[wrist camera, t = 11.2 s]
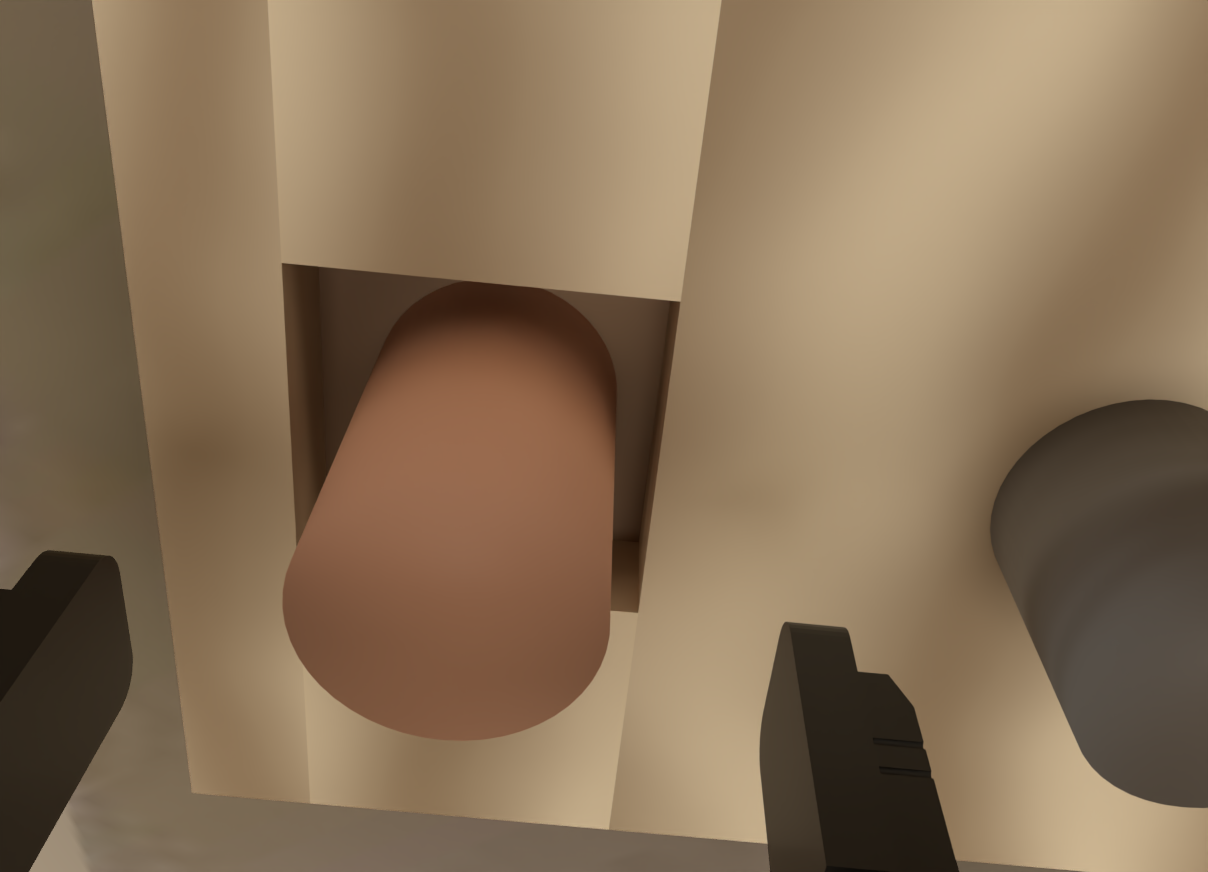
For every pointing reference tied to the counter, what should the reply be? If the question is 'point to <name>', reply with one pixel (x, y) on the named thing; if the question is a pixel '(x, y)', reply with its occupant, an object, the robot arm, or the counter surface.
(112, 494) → the counter surface
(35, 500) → the counter surface
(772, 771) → the robot arm
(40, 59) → the counter surface
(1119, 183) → the pin board
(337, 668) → the terracotta pin
